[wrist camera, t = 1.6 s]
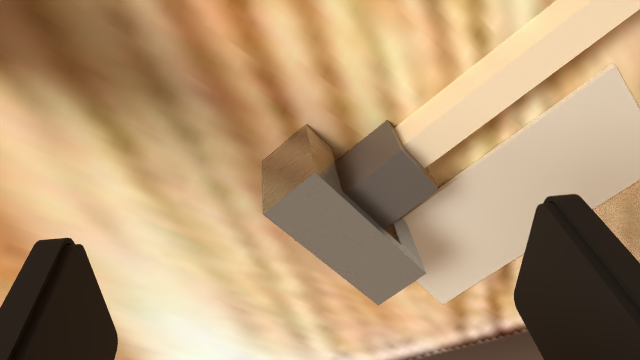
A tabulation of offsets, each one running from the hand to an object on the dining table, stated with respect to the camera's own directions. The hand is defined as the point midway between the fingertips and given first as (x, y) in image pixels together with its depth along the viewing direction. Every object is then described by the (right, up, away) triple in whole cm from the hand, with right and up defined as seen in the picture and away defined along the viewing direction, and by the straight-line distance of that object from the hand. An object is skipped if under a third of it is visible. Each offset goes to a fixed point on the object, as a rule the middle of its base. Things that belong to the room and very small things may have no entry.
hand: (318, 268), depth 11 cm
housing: (+1, +1, +25) cm, 25 cm away
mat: (+15, 0, +27) cm, 31 cm away
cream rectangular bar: (+10, +8, +22) cm, 25 cm away
